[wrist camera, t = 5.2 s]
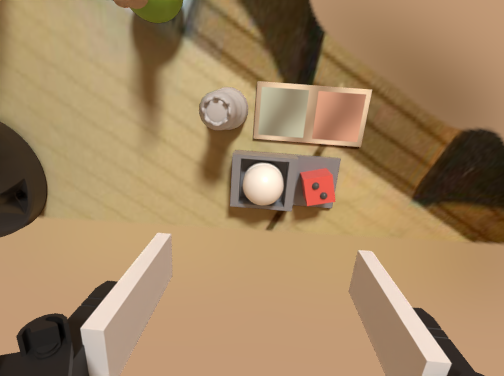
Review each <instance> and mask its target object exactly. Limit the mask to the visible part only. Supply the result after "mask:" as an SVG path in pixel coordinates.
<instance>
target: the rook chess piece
mask: <svg viewBox="0 0 504 376" xmlns="http://www.w3.org/2000/svg"><path fill="white" fill-rule="evenodd" d="M199 114H200V117H201V120H202V121H203V123H204V124H205V125H206V126H207V127H209V128H211V129H213V130H224V129H227V130H231V129H234V128H237V127H239V126H240V125H241V124H242V123H243V122H244V121H245V119H246V117H247V115H248V104H247V101H246V98H245V97H244V95H243V94H242V93H241V92H240V91H238V90H236V89H235V88H232V87H223V88H220V89H218V90H215V91H213V92H210V93H207V94H206V95H205V96H204V97H203V98H202V100H201V103H200V105H199Z"/></svg>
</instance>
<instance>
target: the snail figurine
mask: <svg viewBox="0 0 504 376" xmlns="http://www.w3.org/2000/svg"><path fill="white" fill-rule="evenodd" d="M113 1H114V2H115V3H116V4H117V5H118V6H120V7H123V8H128V7H129V8H131V9H132V11H133V12H134V13H135V14H137V15H138V16H139V17H141V18H142V19H144V20H146V21H149V22H153V23H164V22H167V21H169V20H171V19H173V18H174V17H175V16H176V15H177V14H178V12H179V11H180V9H181V7H182V4H183V0H113Z"/></svg>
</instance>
